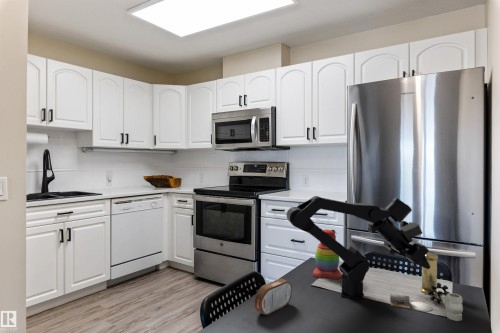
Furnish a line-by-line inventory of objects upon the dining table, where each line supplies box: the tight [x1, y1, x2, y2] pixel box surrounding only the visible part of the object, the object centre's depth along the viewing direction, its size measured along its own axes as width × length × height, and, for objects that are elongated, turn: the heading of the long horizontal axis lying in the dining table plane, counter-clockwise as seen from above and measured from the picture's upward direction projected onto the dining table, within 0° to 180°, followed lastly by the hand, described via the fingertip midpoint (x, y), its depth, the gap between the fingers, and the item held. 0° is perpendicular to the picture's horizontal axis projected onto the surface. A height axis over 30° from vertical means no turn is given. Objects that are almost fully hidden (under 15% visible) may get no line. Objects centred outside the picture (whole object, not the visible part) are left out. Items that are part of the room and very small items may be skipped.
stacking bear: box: [312, 229, 342, 280], centre depth 126 cm, size 11×10×18 cm
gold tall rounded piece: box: [420, 252, 439, 296], centre depth 108 cm, size 5×5×13 cm
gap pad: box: [409, 301, 433, 312], centre depth 98 cm, size 6×6×1 cm
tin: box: [253, 278, 293, 316], centre depth 96 cm, size 15×3×8 cm, turn 135°
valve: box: [427, 281, 464, 322], centre depth 95 cm, size 7×7×12 cm
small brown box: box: [389, 293, 411, 309], centre depth 100 cm, size 5×5×3 cm
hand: (420, 263), depth 108 cm, fingers open, 9 cm apart
